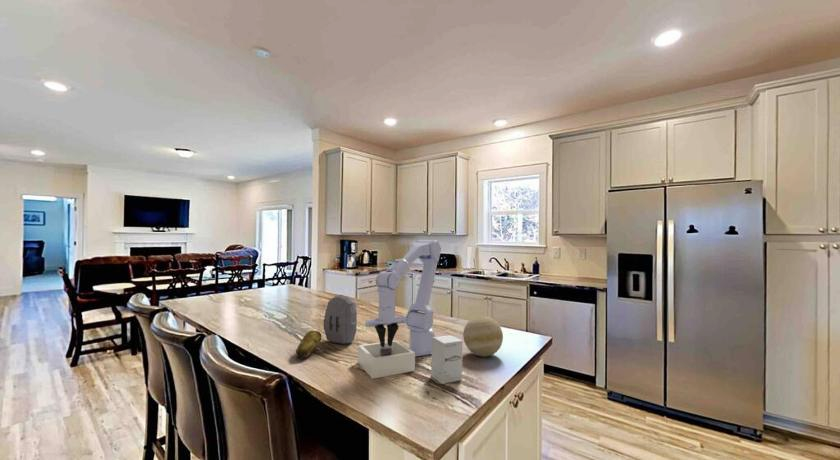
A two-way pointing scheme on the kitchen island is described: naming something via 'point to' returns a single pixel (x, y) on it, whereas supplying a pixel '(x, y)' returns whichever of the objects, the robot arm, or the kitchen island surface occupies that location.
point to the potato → (308, 344)
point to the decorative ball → (483, 336)
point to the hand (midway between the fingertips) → (386, 345)
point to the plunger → (385, 351)
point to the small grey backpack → (340, 320)
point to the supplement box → (446, 359)
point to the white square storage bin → (386, 359)
